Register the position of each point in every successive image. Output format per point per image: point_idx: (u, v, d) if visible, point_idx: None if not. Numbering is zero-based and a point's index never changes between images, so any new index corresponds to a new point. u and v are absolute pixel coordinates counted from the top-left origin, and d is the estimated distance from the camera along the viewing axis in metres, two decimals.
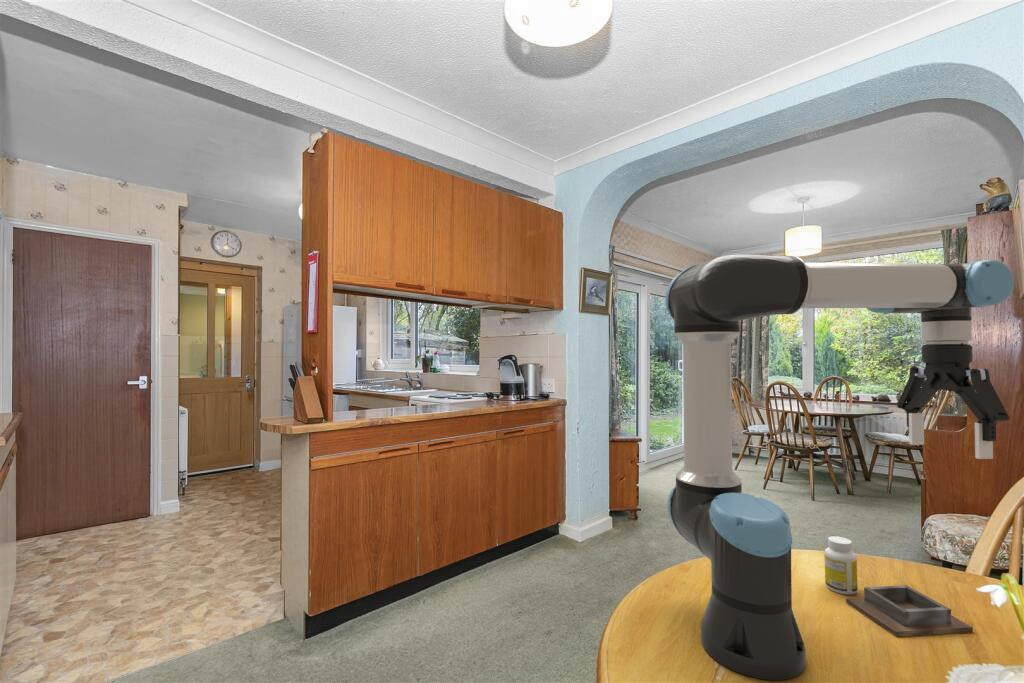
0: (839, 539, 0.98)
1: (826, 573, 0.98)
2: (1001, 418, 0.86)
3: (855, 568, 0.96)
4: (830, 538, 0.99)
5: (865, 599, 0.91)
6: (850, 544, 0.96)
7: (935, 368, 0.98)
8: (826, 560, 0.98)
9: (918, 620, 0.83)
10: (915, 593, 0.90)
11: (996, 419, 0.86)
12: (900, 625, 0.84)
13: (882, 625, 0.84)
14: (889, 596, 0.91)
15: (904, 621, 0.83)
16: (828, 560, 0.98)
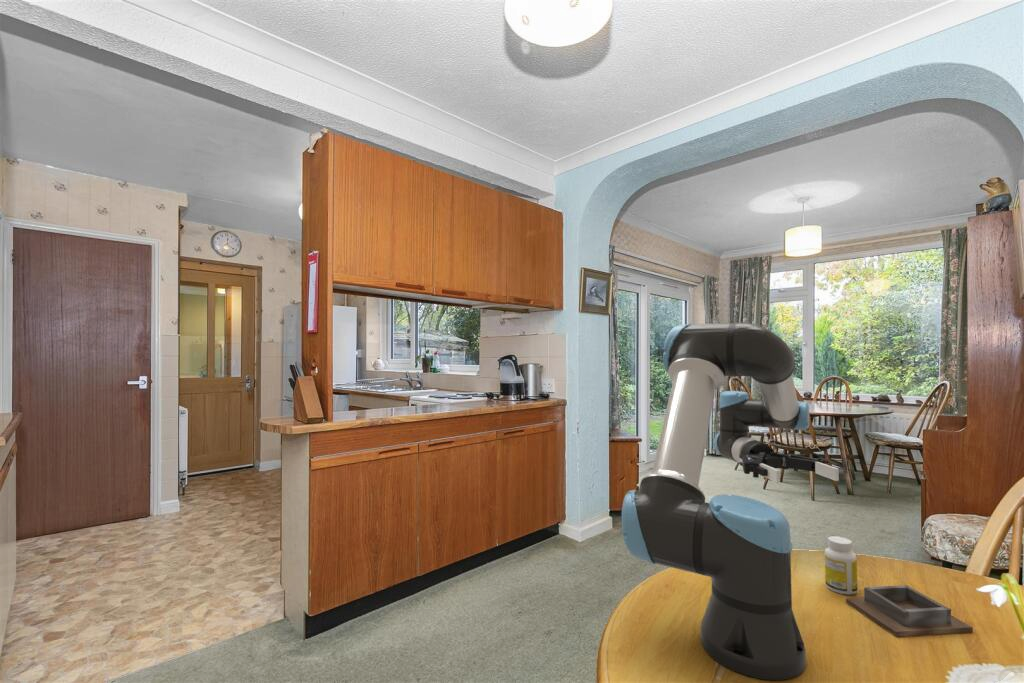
0: (839, 539, 0.98)
1: (826, 573, 0.98)
2: None
3: (855, 568, 0.96)
4: (830, 538, 0.99)
5: (865, 599, 0.91)
6: (850, 544, 0.96)
7: None
8: (826, 560, 0.98)
9: (918, 620, 0.83)
10: (915, 593, 0.90)
11: (826, 461, 1.16)
12: (900, 625, 0.84)
13: (882, 625, 0.84)
14: (889, 596, 0.91)
15: (904, 621, 0.83)
16: (828, 560, 0.98)
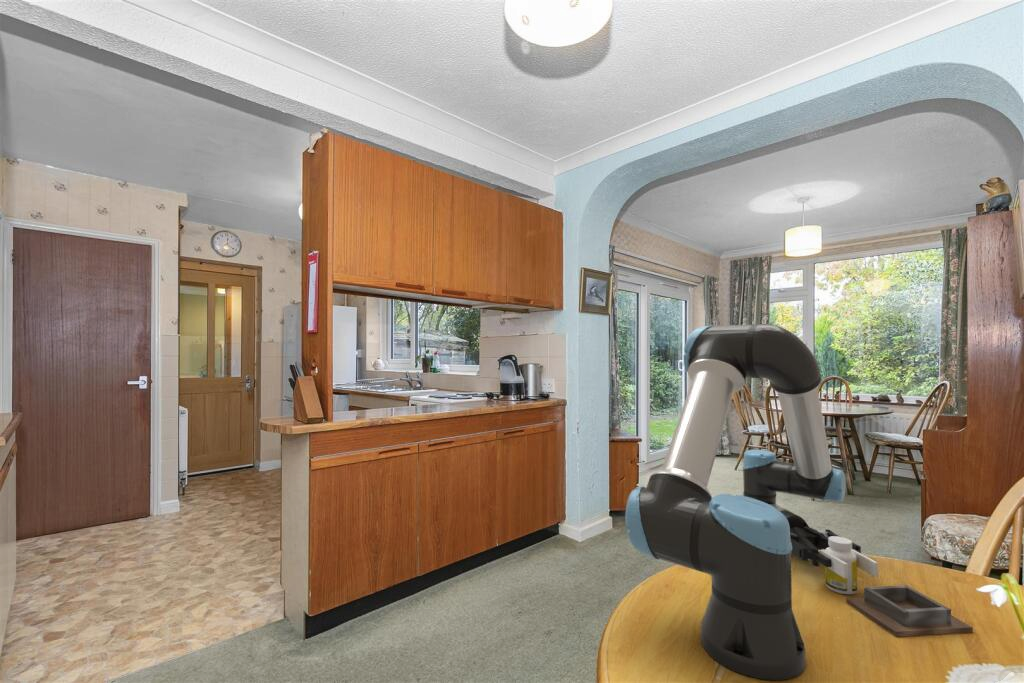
0: (839, 539, 0.98)
1: (826, 573, 0.98)
2: (860, 551, 1.01)
3: (855, 568, 0.96)
4: (830, 538, 0.99)
5: (865, 599, 0.91)
6: (850, 544, 0.96)
7: None
8: None
9: (918, 620, 0.83)
10: (915, 593, 0.90)
11: (860, 547, 1.01)
12: (900, 625, 0.84)
13: (882, 625, 0.84)
14: (889, 596, 0.91)
15: (904, 621, 0.83)
16: None
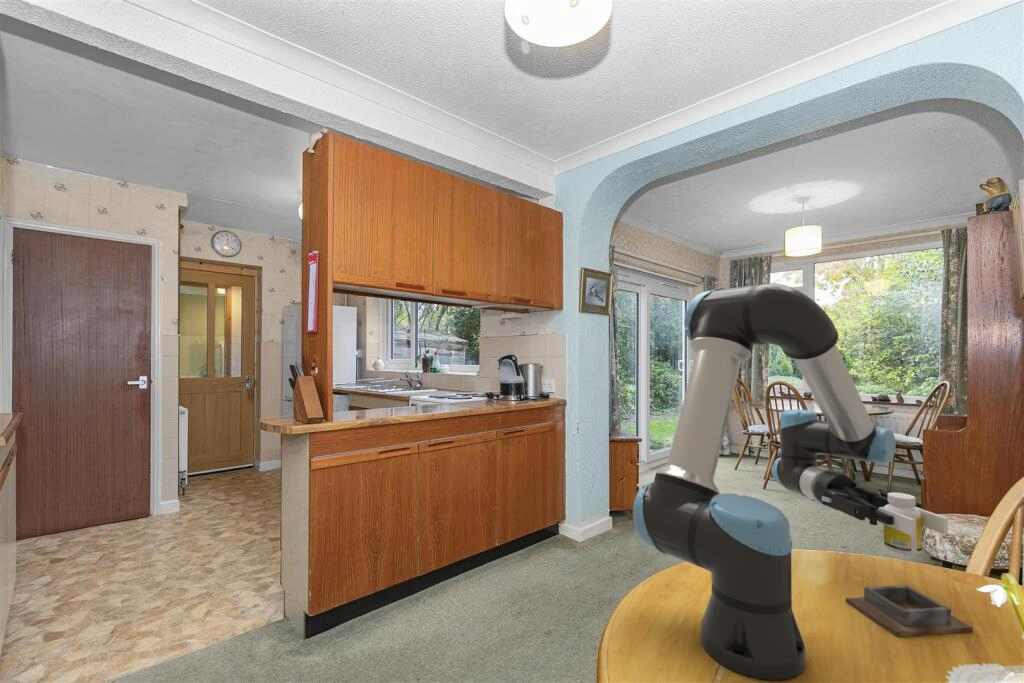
0: (900, 495, 0.89)
1: (886, 532, 0.89)
2: None
3: (920, 525, 0.86)
4: (890, 494, 0.89)
5: (865, 599, 0.91)
6: (914, 499, 0.87)
7: (836, 488, 1.02)
8: None
9: (918, 620, 0.83)
10: (915, 593, 0.90)
11: (921, 505, 0.91)
12: (900, 625, 0.84)
13: (882, 625, 0.84)
14: (889, 596, 0.91)
15: (904, 621, 0.83)
16: None
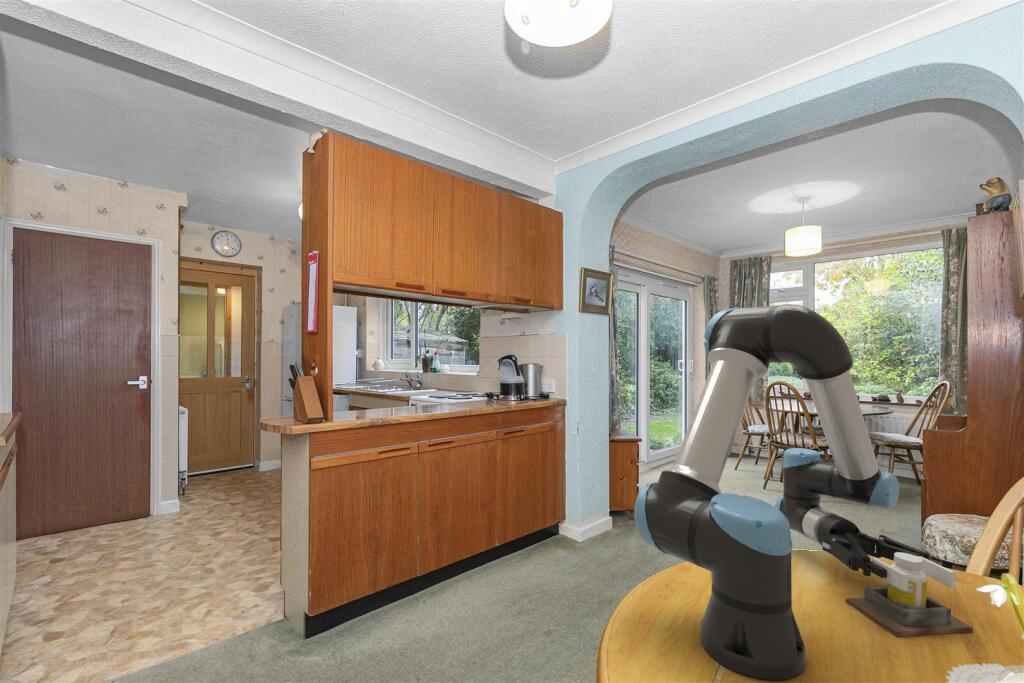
0: (907, 556, 0.88)
1: (890, 593, 0.88)
2: None
3: (925, 589, 0.85)
4: (897, 554, 0.89)
5: (865, 599, 0.91)
6: (921, 563, 0.86)
7: (840, 534, 1.01)
8: None
9: (918, 620, 0.83)
10: None
11: (929, 554, 0.91)
12: (900, 625, 0.84)
13: (882, 625, 0.84)
14: None
15: (904, 621, 0.83)
16: None
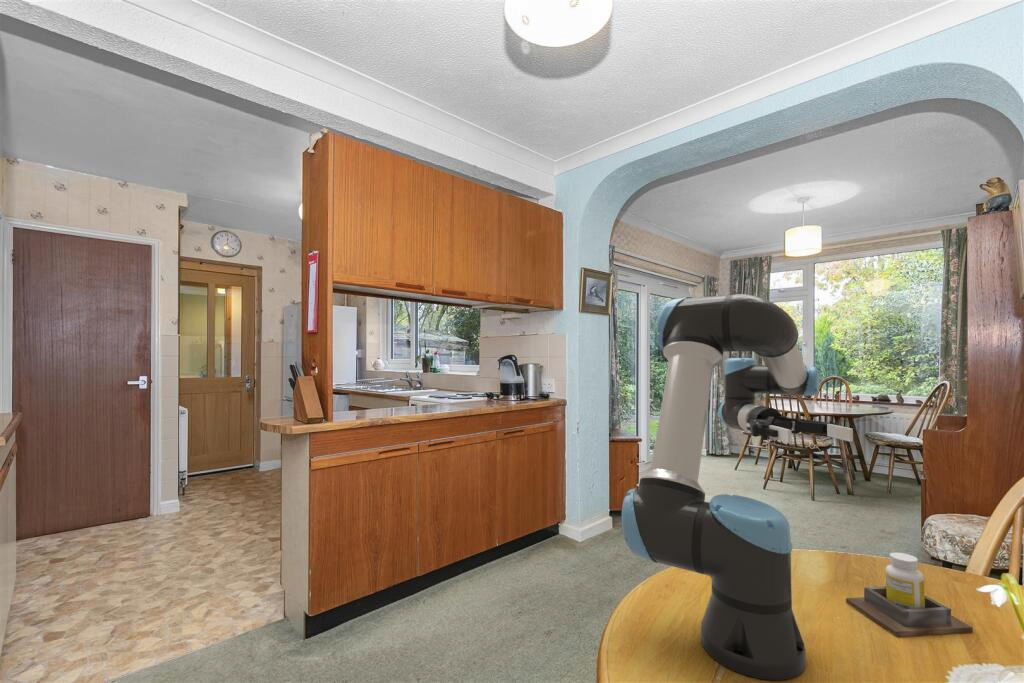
0: (902, 556, 0.88)
1: (889, 594, 0.88)
2: None
3: (923, 588, 0.86)
4: (892, 555, 0.89)
5: (865, 599, 0.91)
6: (916, 561, 0.86)
7: None
8: (889, 580, 0.88)
9: (918, 620, 0.83)
10: None
11: None
12: (900, 625, 0.84)
13: (882, 625, 0.84)
14: None
15: (904, 621, 0.83)
16: (891, 579, 0.88)
